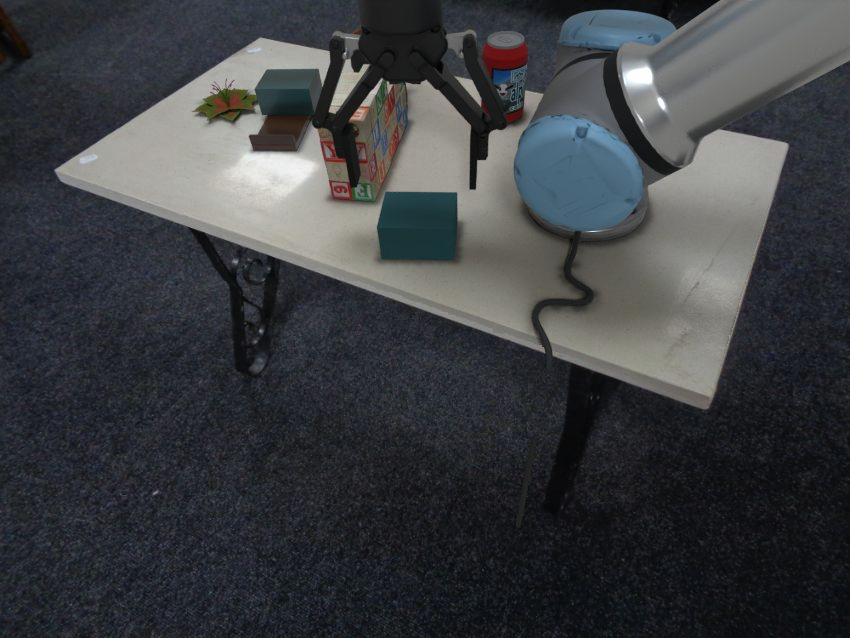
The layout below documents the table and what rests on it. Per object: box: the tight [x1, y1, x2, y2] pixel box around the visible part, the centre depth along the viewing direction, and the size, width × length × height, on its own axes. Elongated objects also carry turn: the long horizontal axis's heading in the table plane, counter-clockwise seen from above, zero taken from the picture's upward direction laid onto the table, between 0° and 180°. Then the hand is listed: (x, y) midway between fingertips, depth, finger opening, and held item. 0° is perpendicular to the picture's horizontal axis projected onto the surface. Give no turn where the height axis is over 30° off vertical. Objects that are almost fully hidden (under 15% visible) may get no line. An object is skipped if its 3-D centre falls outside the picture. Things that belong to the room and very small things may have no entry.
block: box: [376, 191, 459, 262], centre depth 69 cm, size 7×9×5 cm
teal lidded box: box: [248, 68, 323, 152], centre depth 90 cm, size 17×9×6 cm, turn 174°
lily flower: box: [191, 78, 258, 122], centre depth 95 cm, size 12×12×5 cm
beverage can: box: [480, 30, 529, 124], centre depth 85 cm, size 7×7×12 cm
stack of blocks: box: [317, 64, 409, 202], centre depth 79 cm, size 21×6×12 cm, turn 169°
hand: (413, 182), depth 64 cm, fingers open, 13 cm apart
